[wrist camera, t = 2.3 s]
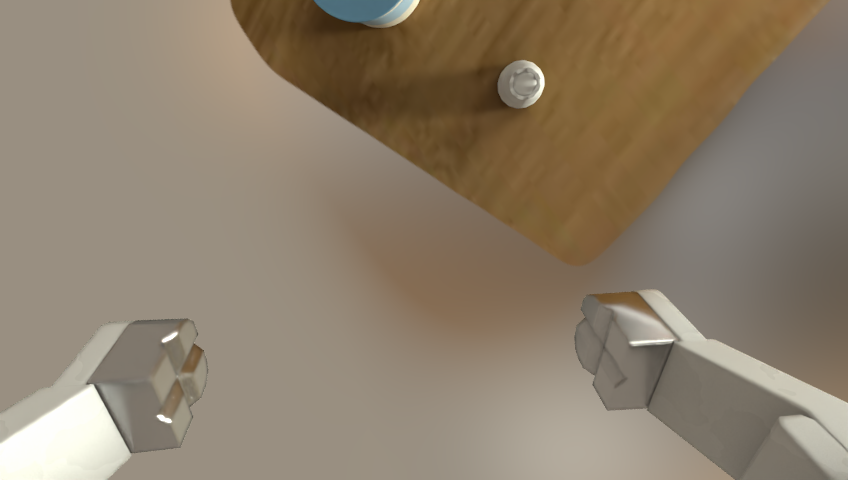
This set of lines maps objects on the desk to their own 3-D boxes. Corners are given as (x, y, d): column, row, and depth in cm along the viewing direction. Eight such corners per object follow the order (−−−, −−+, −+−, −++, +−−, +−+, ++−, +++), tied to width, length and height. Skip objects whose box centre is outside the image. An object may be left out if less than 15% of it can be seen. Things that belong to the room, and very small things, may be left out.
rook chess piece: (537, 53, 42) (546, 45, 34) (548, 100, 43) (558, 102, 35) (492, 69, 43) (490, 65, 35) (503, 114, 44) (504, 119, 36)
